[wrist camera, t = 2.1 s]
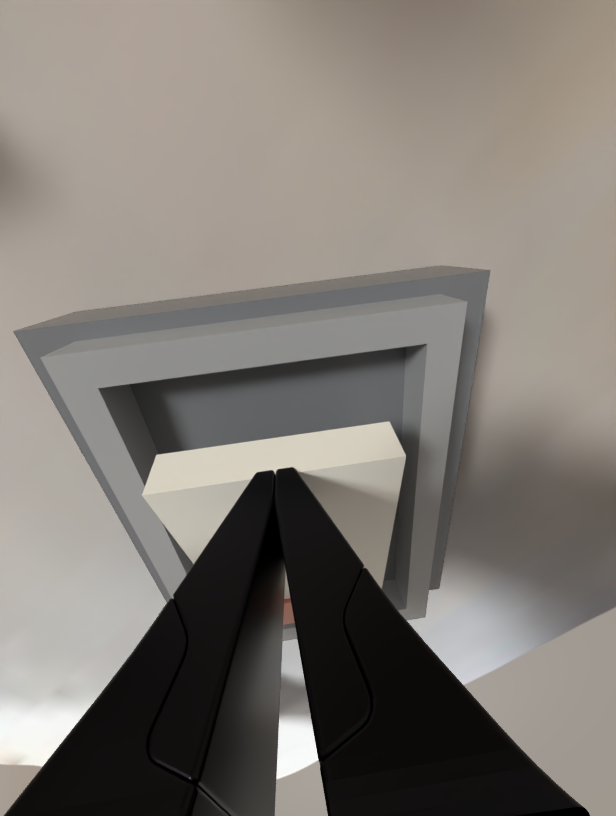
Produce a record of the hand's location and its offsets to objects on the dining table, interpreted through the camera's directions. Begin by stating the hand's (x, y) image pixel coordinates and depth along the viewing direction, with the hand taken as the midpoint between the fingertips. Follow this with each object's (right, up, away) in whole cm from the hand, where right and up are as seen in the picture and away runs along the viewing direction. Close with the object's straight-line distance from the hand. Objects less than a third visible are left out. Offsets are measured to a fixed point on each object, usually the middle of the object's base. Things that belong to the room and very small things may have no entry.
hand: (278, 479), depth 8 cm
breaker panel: (0, -1, +8) cm, 8 cm away
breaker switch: (0, -3, +3) cm, 4 cm away
